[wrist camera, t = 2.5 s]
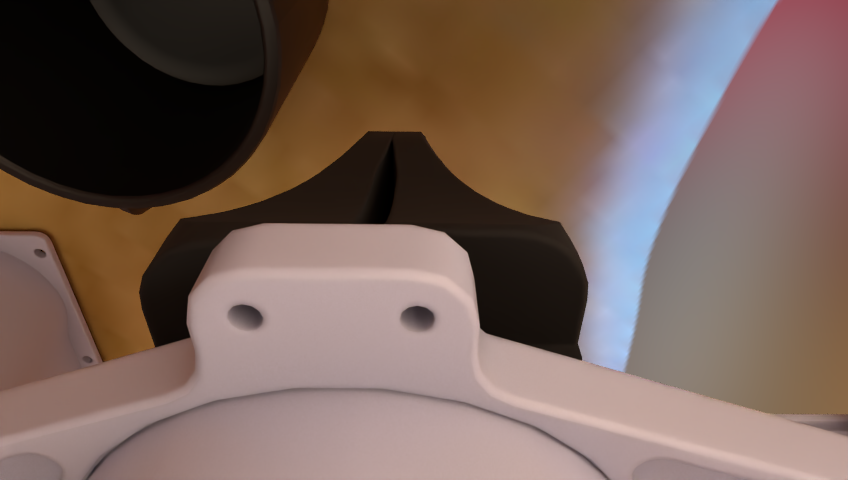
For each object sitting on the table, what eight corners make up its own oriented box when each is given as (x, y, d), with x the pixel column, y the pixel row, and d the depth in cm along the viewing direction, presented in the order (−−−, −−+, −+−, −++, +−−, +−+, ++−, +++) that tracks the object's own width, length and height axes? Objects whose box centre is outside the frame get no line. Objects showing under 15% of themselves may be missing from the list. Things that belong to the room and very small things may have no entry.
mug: (74, 120, 24) (-84, 243, 17) (49, -240, 18) (-231, -306, 10) (300, 173, 25) (248, 309, 18) (354, -142, 19) (309, -135, 11)
